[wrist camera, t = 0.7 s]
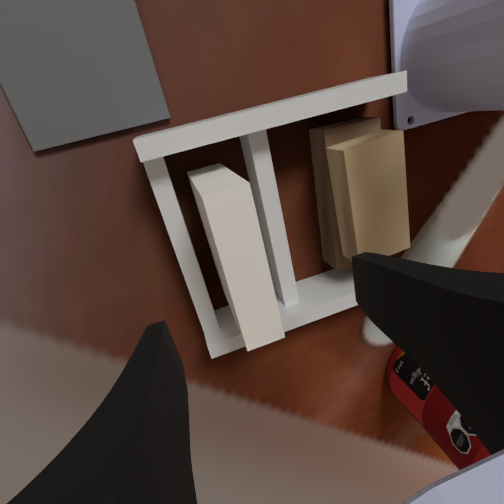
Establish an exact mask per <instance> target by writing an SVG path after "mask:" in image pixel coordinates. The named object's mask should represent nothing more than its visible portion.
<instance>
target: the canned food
mask: <svg viewBox="0 0 504 504" xmlns="http://www.w3.org/2000/svg"><path fill="white" fill-rule="evenodd" d="M387 379H388V382H389V385H390V387H391V389H392V391H393V393H394V394H395V395H396V397H397V398H398V399H399V400H400V401H401V402H402V404H403V405H404V406H405V407H406V408H407V409H408V411H409V412H410V413H411V414H412V415H413V416H414V418H415V419H416V420H417V421H418V422H419V423H420V425H421V426H422V427H423V428H424V429H425V430H426V431H427V433H428V434H429V435H430V436H431V437H432V438H433V440H434V441H435V442H436V443H437V444H438V445H439V447H440V448H441V449H442V450H443V451H444V452H445V454H446V455H447V456H448V457H449V458H450V459H451V461H452V462H453V463H454V464H455V465H456V466H457V468H458V469H459V470H461V469H463V468H465V467H468V466H470V465H472V464H474V463H476V462H478V461H480V460H482V459H484V458H487V457H489V456H491V454H490V453H489V451H488V450H487V449H486V447H485V446H484V445H483V443H482V442H481V441H480V439H479V438H478V437H477V436H476V434H475V433H474V432H473V430H472V429H471V428H470V426H469V425H468V424H467V423H466V421H465V420H464V419H463V417H462V416H461V415H460V414H459V413H458V411H457V410H456V409H455V408H454V406H453V405H452V404H451V403H450V402H449V400H448V399H447V398H446V397H445V395H444V394H443V393H442V392H441V391H440V390H439V388H438V387H437V386H436V385H435V384H434V383H433V381H432V380H431V379H430V378H429V377H428V376H427V375H426V373H425V372H424V371H423V370H422V369H421V368H420V367H419V366H418V365H417V364H416V363H415V362H414V361H413V360H412V359H411V358H410V357H409V356H408V355H407V354H406V353H405V352H403V351H402V350H401V349H400V348H399V347H397V348H396V349H395V351H394V352H393V354H392V356H391V358H390V360H389V363H388V367H387Z"/></svg>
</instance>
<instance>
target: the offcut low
mask: <svg viewBox="0 0 504 504" xmlns="http://www.w3.org/2000/svg"><path fill="white" fill-rule="evenodd" d="M377 130H381V122H380V117H360V118H356V119H351V120H347V121H343V122H338V123H334V124H330V125H325V126H321V127H317V128H312V129H309V136H310V146H311V155H312V164H313V173H314V182H315V191H316V200H317V209H318V218H319V227H320V236H321V245H322V254H323V260H324V261H326V262H327V263H328V264H329V265H330V266H331V267H333V268H334V269H335V270H336V271H341V270H344V269H347V268H350V267H352V261H351V260H349V259H348V258H346V257H345V256H344V255H343V252H342V246H341V240H340V234H339V228H338V222H337V216H336V209H335V203H334V197H333V191H332V185H331V179H330V173H329V166H328V160H327V154H326V147H329V146H332V145H335V144H338V143H341V142H344V141H347V140H350V139H353V138H356V137H359V136H362V135H365V134H368V133H371V132H374V131H377Z"/></svg>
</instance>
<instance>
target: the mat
mask: <svg viewBox="0 0 504 504" xmlns="http://www.w3.org/2000/svg"><path fill="white" fill-rule="evenodd" d="M0 83H1V85H2V87H3V89H4V91H5V93H6V95H7V98H8V100H9V102H10V104H11V106H12V108H13V110H14V112H15V114H16V116H17V118H18V120H19V122H20V124H21V126H22V128H23V130H24V132H25V134H26V136H27V138H28V140H29V142H30V144H31V146H32V149H33V151H38V150H43V149H47V148H51V147H55V146H59V145H63V144H67V143H71V142H75V141H79V140H83V139H87V138H91V137H95V136H99V135H103V134H107V133H111V132H115V131H119V130H123V129H127V128H131V127H135V126H139V125H143V124H147V123H151V122H155V121H159V120H163V119H167V118H170V115H169V112H168V108H167V105H166V102H165V99H164V95H163V92H162V89H161V85H160V82H159V79H158V76H157V72H156V69H155V66H154V63H153V59H152V56H151V53H150V50H149V46H148V43H147V40H146V36H145V33H144V30H143V27H142V23H141V20H140V17H139V14H138V10H137V7H136V4H135V1H134V0H0Z"/></svg>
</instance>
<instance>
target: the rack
mask: <svg viewBox="0 0 504 504" xmlns="http://www.w3.org/2000/svg"><path fill="white" fill-rule="evenodd" d="M404 92H407V70H406V71H401V72H396V73H391V74H386V75H381V76H376V77H371V78H366V79H362V80H358V81H354V82H351V83H347V84H343V85H339V86H335V87H331V88H327V89H323V90H319V91H315V92H311V93H307V94H303V95H299V96H295V97H291V98H287V99H283V100H279V101H275V102H271V103H268V104H264V105H260V106H256V107H252V108H248V109H244V110H240V111H236V112H232V113H228V114H224V115H220V116H216V117H212V118H208V119H204V120H200V121H196V122H192V123H189V124H185V125H181V126H177V127H173V128H169V129H165V130H161V131H157V132H153V133H149V134H145V135H141V136H137V137H136V138H134V139H133V142H134V145H135V148H136V151H137V153H138V156H139V159H140V162H143V164H144V167H145V169H146V172H147V175H148V178H149V181H150V183H151V186H152V189H153V192H154V195H155V197H156V200H157V203H158V206H159V209H160V211H161V214H162V217H163V220H164V223H165V225H166V228H167V231H168V234H169V236H170V239H171V242H172V245H173V248H174V250H175V253H176V256H177V259H178V262H179V264H180V267H181V270H182V273H183V276H184V278H185V281H186V284H187V287H188V289H189V292H190V295H191V298H192V301H193V303H194V306H195V309H196V312H197V315H198V317H199V320H200V323H201V326H202V329H203V331H204V334H205V339H206V343H207V347H208V350H209V353H210V356H211V358H212V359H213V358H215V357H218V356H221V355H223V354H226V353H229V352H232V351H234V350H237V349H240V348H242V347H245V344H244V341H243V339H242V336H241V334H240V331H239V329H238V326H237V324H236V321H235V319H234V316H233V314H232V311H231V308H230V306H229V305H228V306H225V307H222V308H219V309H216V310H214V309H213V306H212V303H211V300H210V297H209V294H208V291H207V287H206V284H205V281H204V278H203V275H202V272H201V269H200V266H199V263H198V260H197V257H196V254H195V251H194V248H193V245H192V242H191V239H190V236H189V233H188V230H187V227H186V224H185V221H184V218H183V215H182V212H181V209H180V206H179V203H178V200H177V197H176V194H175V191H174V187H173V184H172V181H171V178H170V175H169V172H168V169H167V166H166V163H165V160H164V157H163V156H167V155H171V154H174V153H178V152H182V151H186V150H189V149H193V148H197V147H201V146H204V145H208V144H212V143H216V142H220V141H223V140H227V139H231V138H235V137H238V136H239V138H240V142H241V146H242V151H243V155H244V159H245V164H246V168H247V173H248V177H249V181H250V186H251V190H252V195H253V199H254V203H255V208H256V212H257V216H258V221H259V225H260V230H261V234H262V238H263V243H264V247H265V251H266V256H267V260H268V265H269V269H270V273H271V278H272V282H273V286H274V291H275V295H276V300H277V304H278V309H279V313H280V317H281V322H282V326H283V330H284V332H286V331H289V330H291V329H294V328H297V327H299V326H302V325H305V324H308V323H310V322H313V321H316V320H318V319H321V318H324V317H327V316H329V315H332V314H335V313H337V312H340V311H343V310H346V309H348V308H351V307H354V306H356V305H358V304H357V302H356V298H355V288H354V279H353V269H352V267H350V268H347V269H344V270H341V271H336V270H335V269H332V270H329V271H326V272H324V273H321V274H318V275H315V276H312V277H309V278H306V279H303V280H300V281H297V282H295V277H294V272H293V267H292V262H291V257H290V251H289V246H288V241H287V236H286V231H285V226H284V220H283V215H282V210H281V205H280V200H279V195H278V190H277V184H276V179H275V174H274V169H273V164H272V159H271V153H270V148H269V143H268V138H267V133H266V129H269V128H272V127H276V126H280V125H284V124H287V123H291V122H295V121H299V120H302V119H306V118H310V117H314V116H317V115H321V114H325V113H329V112H333V111H336V110H340V109H344V108H348V107H351V106H355V105H359V104H363V103H366V102H370V101H374V100H378V99H382V98H385V97H389V96H393V95H397V94H400V93H404Z"/></svg>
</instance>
